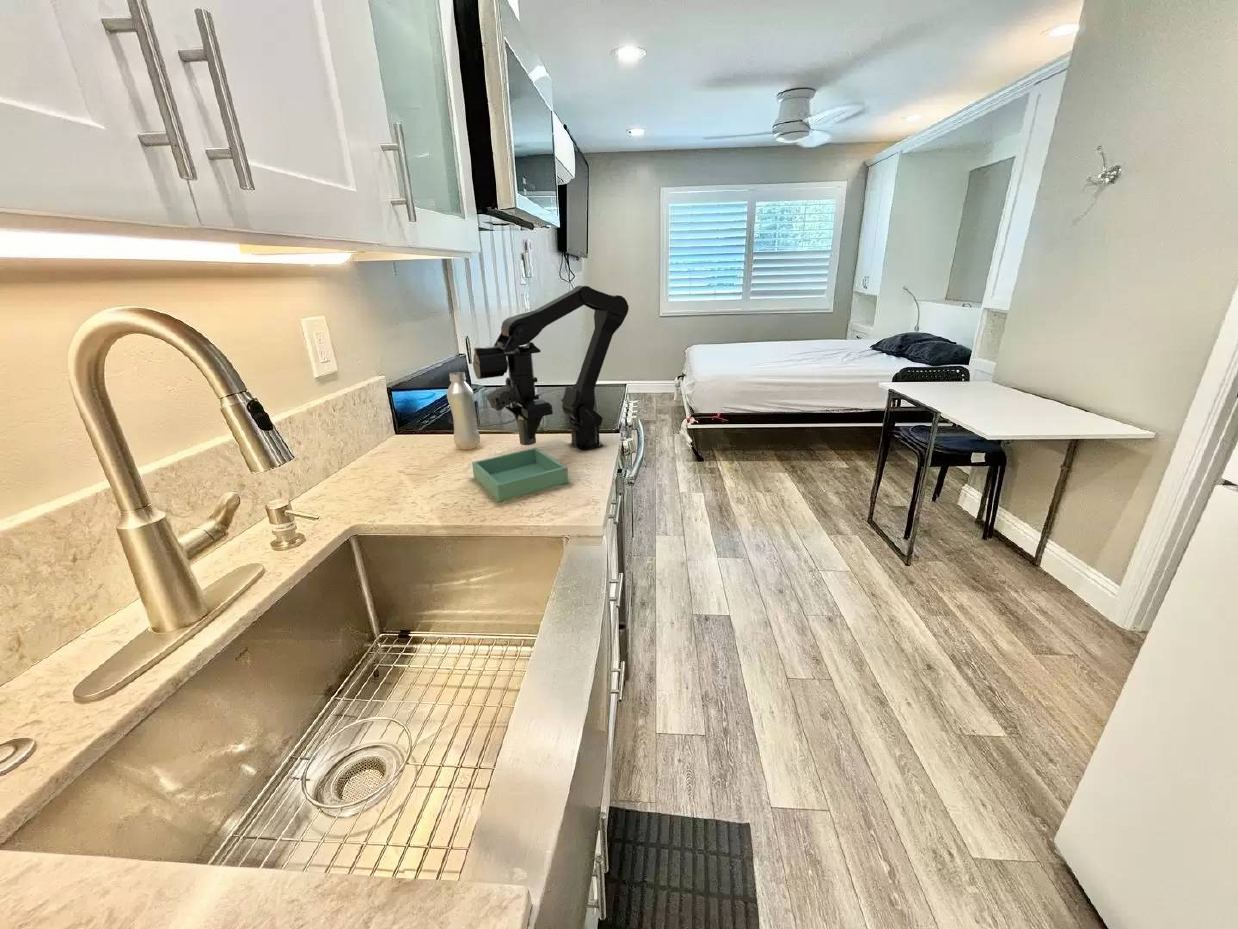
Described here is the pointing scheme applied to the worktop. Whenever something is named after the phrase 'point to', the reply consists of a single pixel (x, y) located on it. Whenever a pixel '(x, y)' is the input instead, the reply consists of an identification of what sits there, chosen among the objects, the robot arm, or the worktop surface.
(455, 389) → the silver bottle
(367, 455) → the worktop surface
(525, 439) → the salt shaker
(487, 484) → the bin
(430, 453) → the worktop surface
